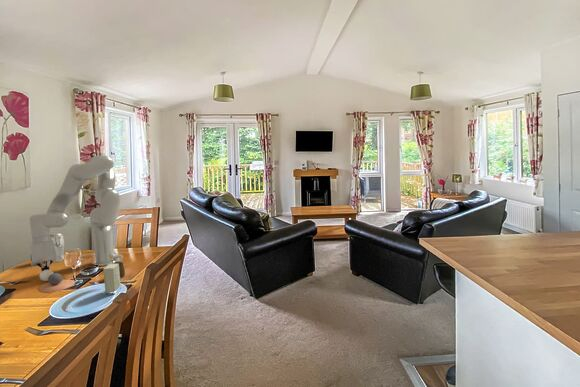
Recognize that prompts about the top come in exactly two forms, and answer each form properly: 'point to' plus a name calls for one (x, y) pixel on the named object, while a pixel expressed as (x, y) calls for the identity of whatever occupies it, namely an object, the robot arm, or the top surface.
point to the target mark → (57, 286)
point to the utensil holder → (121, 267)
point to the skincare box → (111, 277)
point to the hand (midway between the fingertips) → (46, 274)
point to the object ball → (55, 278)
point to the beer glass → (59, 245)
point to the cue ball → (45, 275)
